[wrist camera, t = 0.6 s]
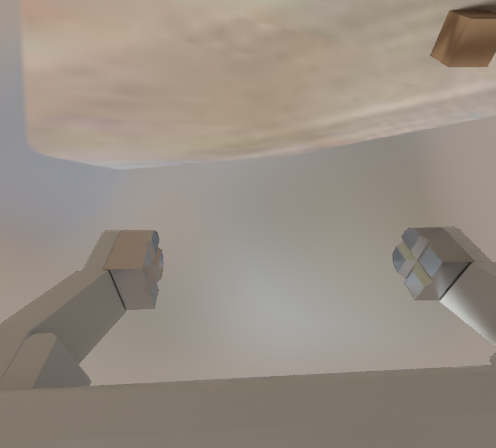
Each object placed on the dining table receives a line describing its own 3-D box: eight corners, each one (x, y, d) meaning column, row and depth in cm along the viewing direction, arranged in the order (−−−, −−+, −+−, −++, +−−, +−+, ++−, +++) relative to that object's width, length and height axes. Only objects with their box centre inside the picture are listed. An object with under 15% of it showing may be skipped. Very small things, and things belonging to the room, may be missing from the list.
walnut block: (449, 10, 35) (471, 18, 32) (487, 10, 35) (514, 19, 32) (430, 55, 39) (448, 66, 35) (465, 55, 39) (487, 66, 35)
